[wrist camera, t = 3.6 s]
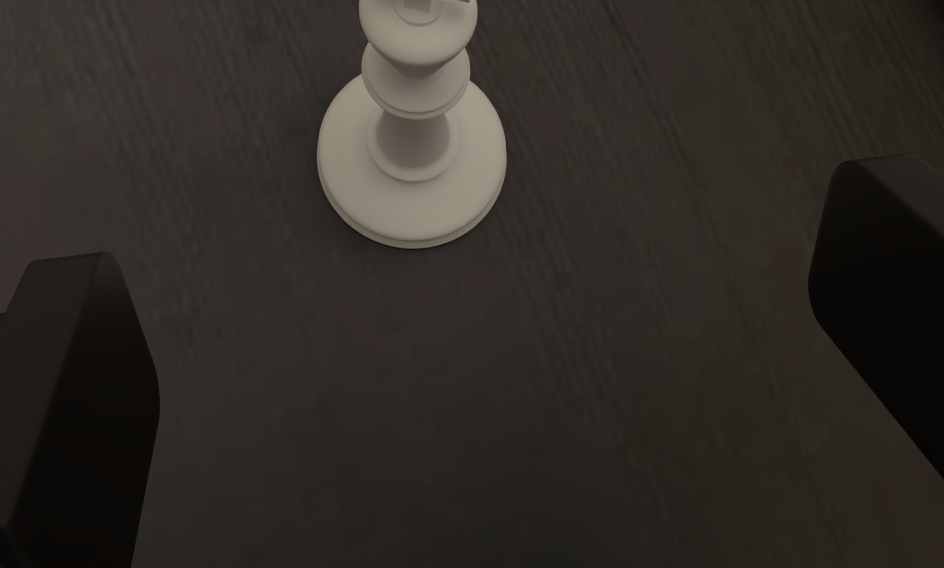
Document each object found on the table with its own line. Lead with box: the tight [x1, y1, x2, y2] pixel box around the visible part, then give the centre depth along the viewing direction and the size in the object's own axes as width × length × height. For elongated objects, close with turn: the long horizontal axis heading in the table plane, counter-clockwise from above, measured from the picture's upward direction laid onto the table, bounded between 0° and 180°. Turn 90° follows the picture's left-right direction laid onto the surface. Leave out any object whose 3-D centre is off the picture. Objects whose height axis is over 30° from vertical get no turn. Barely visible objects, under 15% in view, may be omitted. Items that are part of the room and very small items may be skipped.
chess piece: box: [317, 0, 506, 249], centre depth 17 cm, size 5×5×10 cm
